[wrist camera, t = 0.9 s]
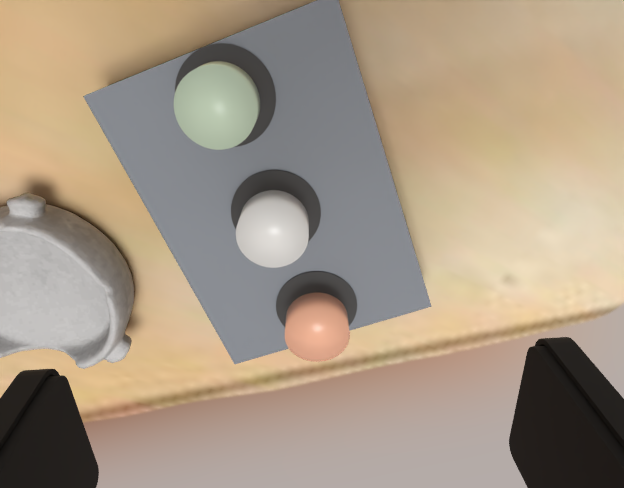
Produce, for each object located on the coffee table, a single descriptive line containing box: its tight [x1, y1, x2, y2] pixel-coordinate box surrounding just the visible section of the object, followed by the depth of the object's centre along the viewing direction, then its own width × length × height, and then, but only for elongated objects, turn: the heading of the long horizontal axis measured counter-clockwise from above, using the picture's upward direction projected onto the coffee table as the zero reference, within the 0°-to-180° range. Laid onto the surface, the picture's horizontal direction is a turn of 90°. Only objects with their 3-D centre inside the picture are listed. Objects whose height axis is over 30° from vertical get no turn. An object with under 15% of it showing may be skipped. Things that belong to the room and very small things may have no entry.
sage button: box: [174, 61, 260, 150], centre depth 26 cm, size 4×4×2 cm
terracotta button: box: [285, 293, 350, 361], centre depth 33 cm, size 4×4×2 cm
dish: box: [0, 193, 134, 369], centre depth 37 cm, size 14×14×5 cm
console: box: [83, 0, 431, 364], centre depth 34 cm, size 16×22×4 cm
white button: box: [236, 190, 309, 268], centre depth 30 cm, size 4×4×2 cm
